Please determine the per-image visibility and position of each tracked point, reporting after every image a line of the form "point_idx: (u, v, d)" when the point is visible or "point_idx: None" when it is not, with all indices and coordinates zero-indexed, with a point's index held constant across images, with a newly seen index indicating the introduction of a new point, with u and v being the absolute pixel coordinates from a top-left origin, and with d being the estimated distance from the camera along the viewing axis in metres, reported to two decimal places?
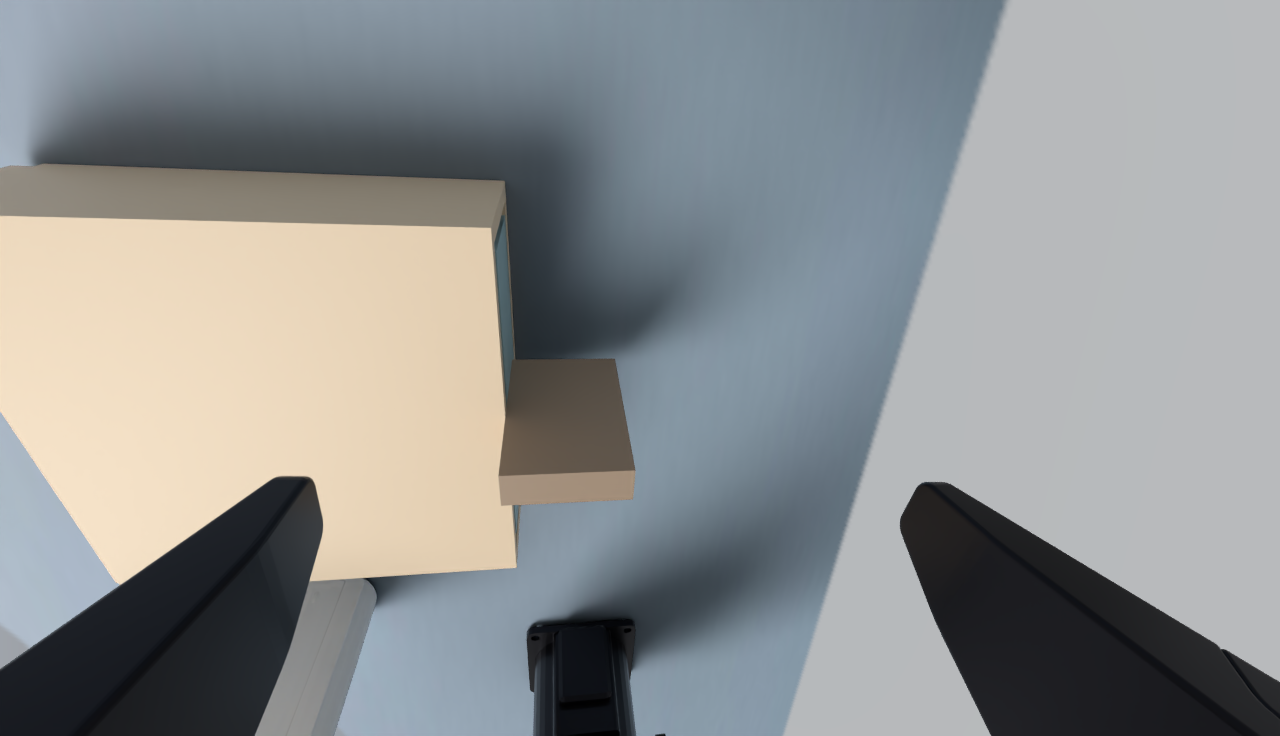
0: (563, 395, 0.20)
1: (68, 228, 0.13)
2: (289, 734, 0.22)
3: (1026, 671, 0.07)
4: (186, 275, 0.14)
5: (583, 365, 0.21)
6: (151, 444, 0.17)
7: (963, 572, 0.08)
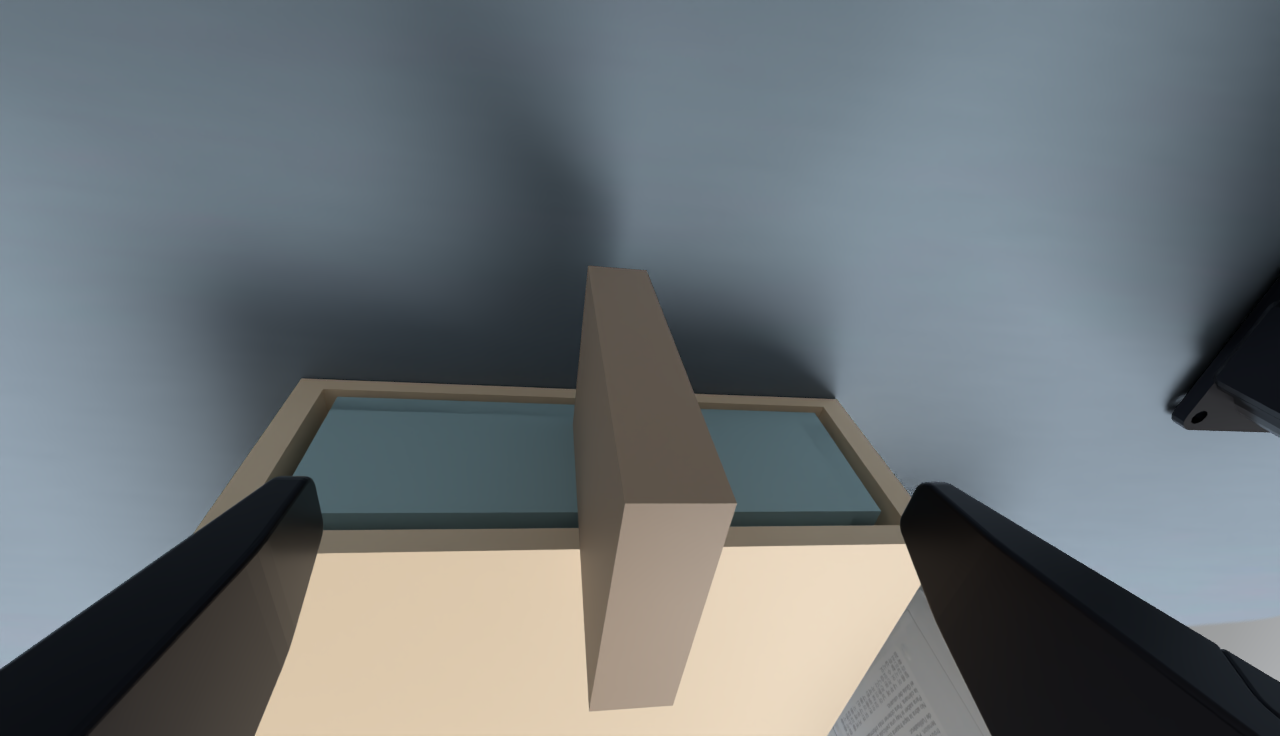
0: (585, 424, 0.10)
1: None
2: None
3: (1026, 671, 0.07)
4: None
5: (583, 332, 0.11)
6: None
7: (963, 572, 0.08)
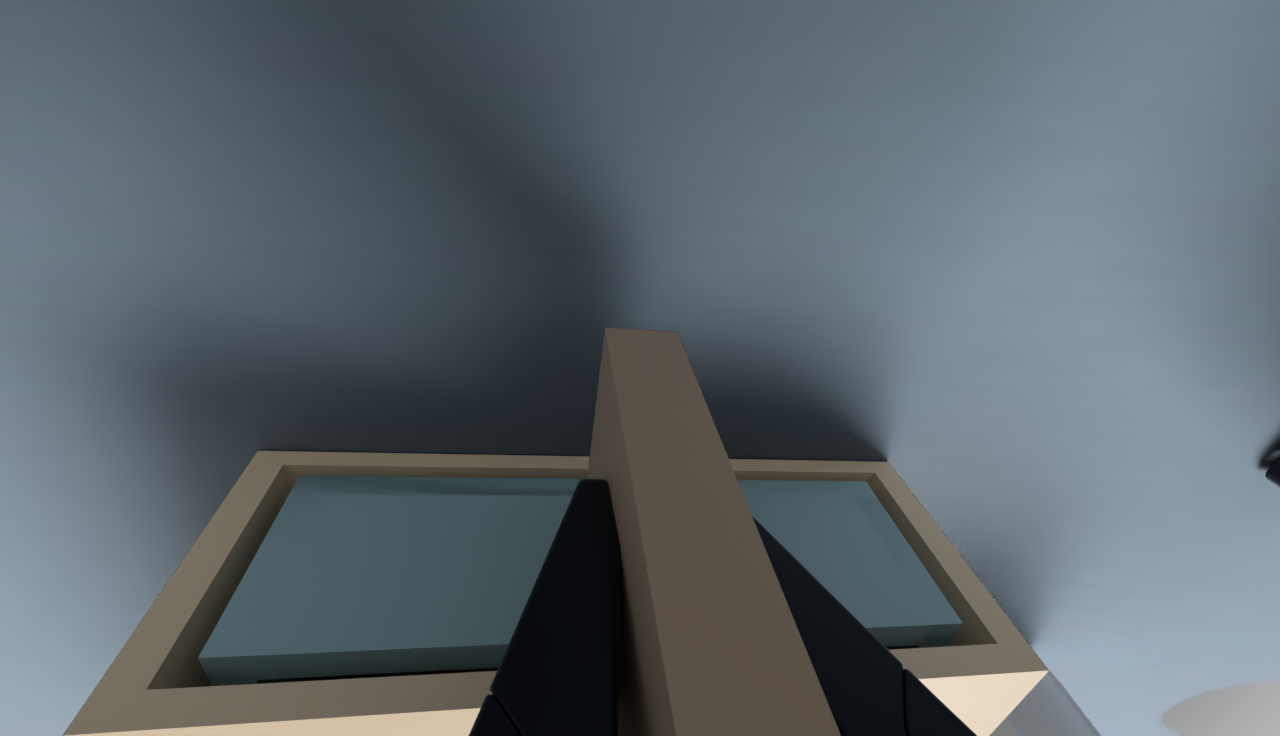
0: None
1: None
2: None
3: None
4: None
5: (598, 409, 0.09)
6: None
7: None
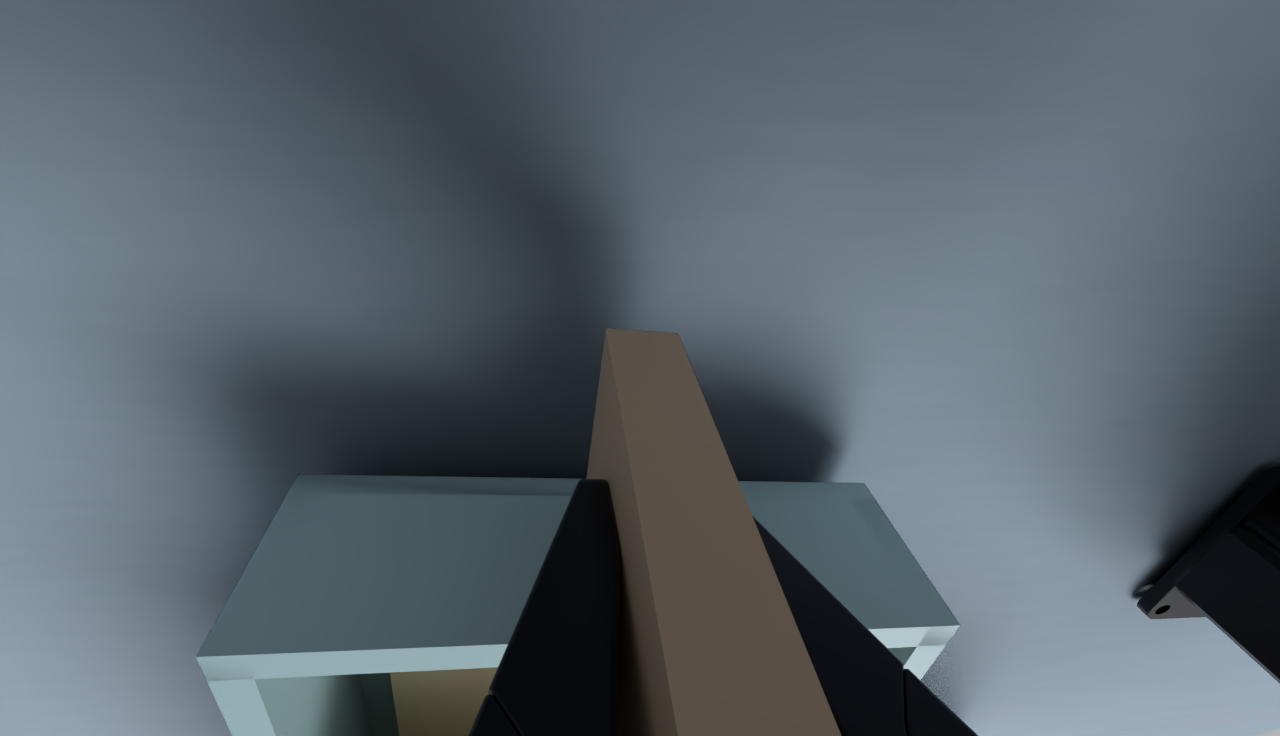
0: None
1: None
2: None
3: None
4: None
5: (598, 409, 0.09)
6: None
7: None
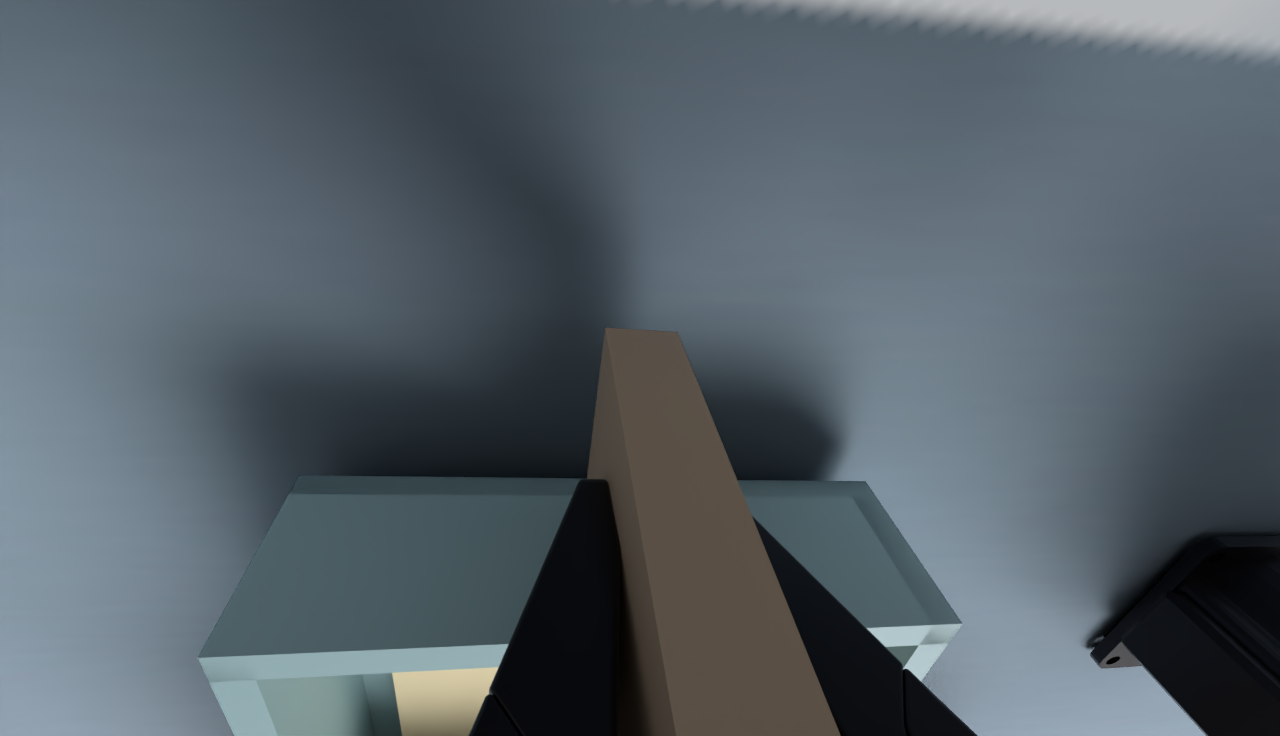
0: None
1: None
2: None
3: None
4: None
5: (598, 409, 0.09)
6: None
7: None
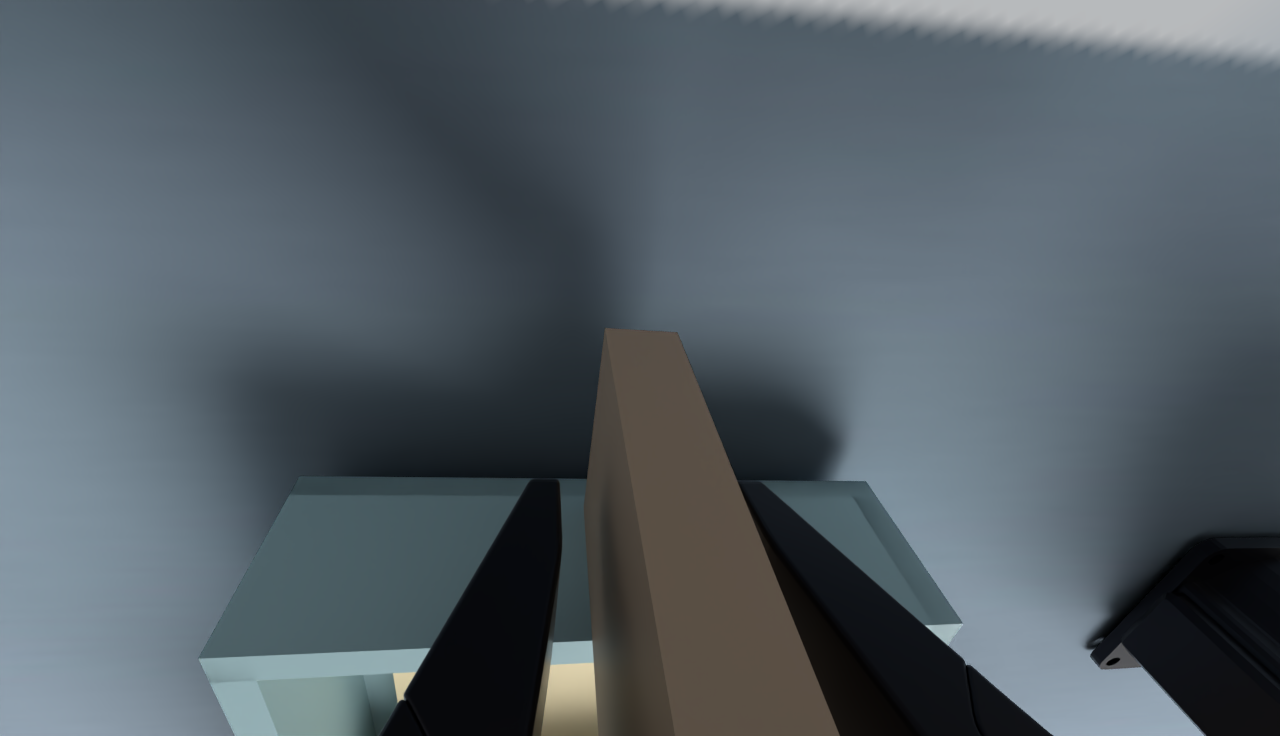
0: (604, 540, 0.08)
1: None
2: None
3: None
4: None
5: (599, 409, 0.09)
6: None
7: None
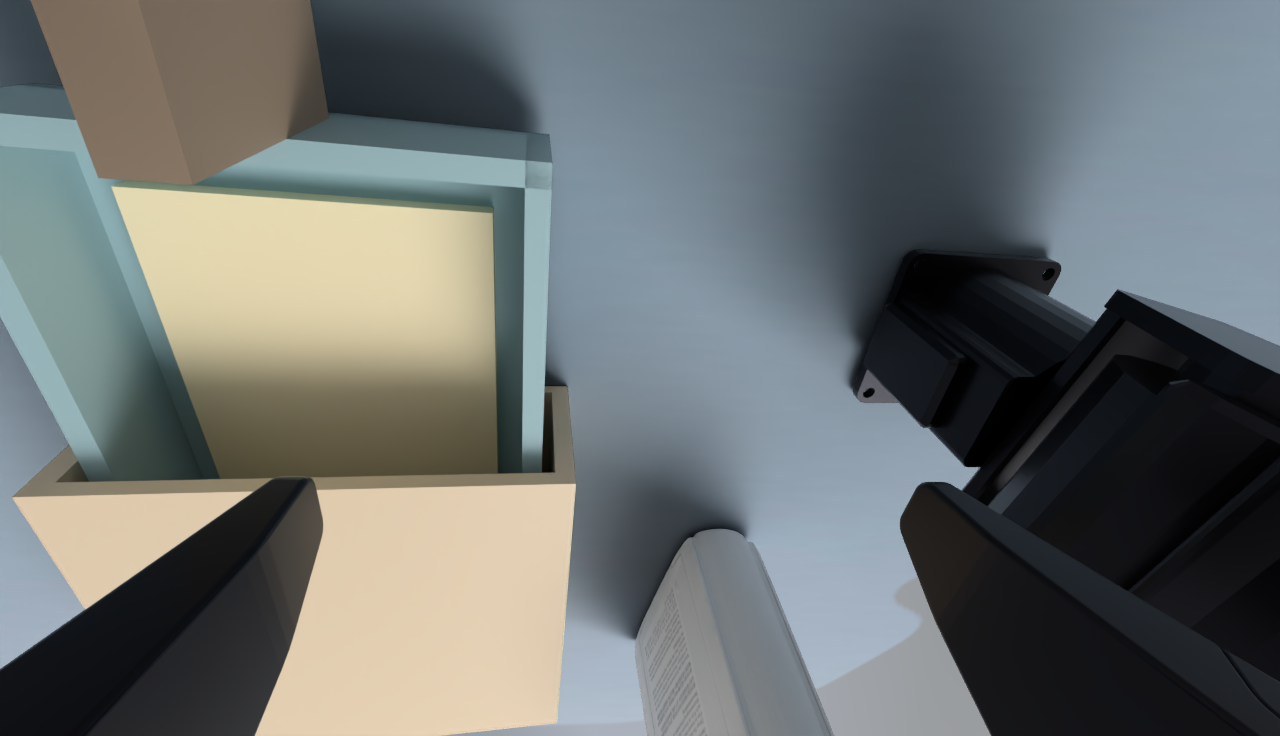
0: None
1: None
2: (724, 712, 0.20)
3: (1026, 671, 0.07)
4: None
5: None
6: (374, 698, 0.21)
7: (963, 572, 0.08)
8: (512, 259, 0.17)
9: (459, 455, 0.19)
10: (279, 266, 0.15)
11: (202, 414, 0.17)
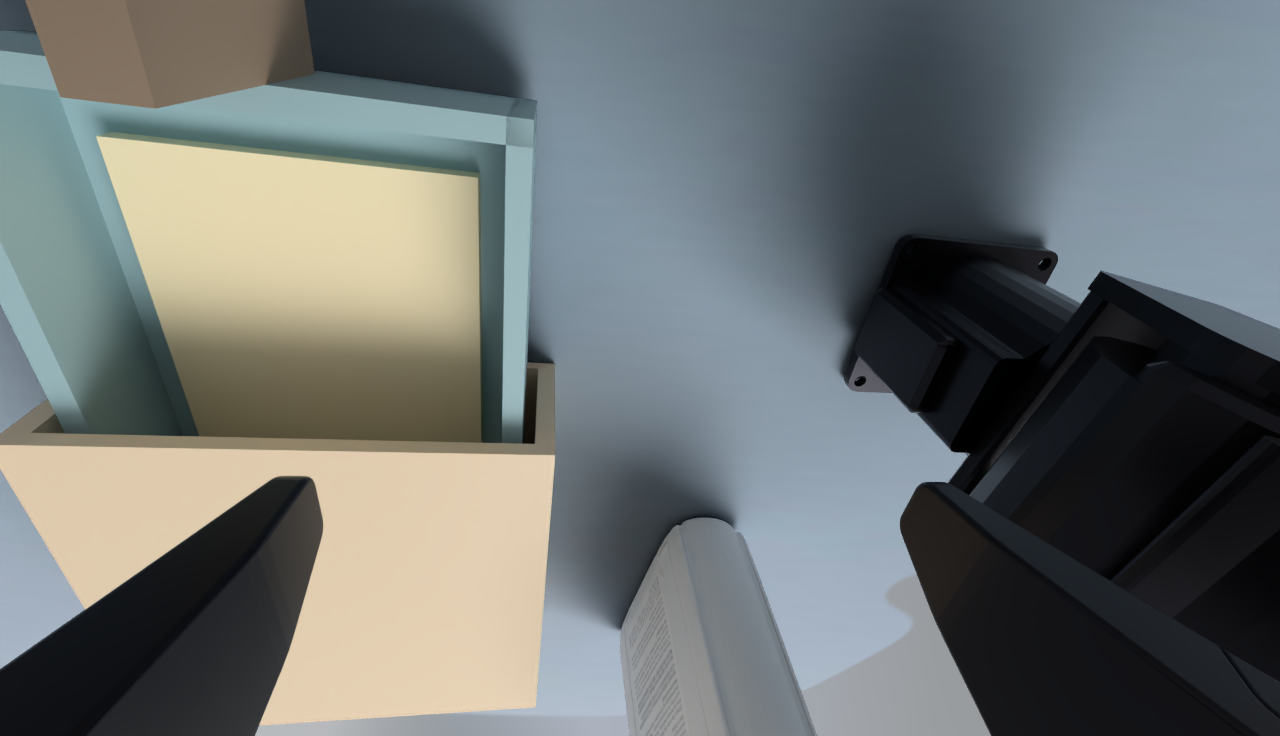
0: None
1: None
2: (702, 698, 0.20)
3: (1026, 671, 0.07)
4: None
5: None
6: (350, 672, 0.20)
7: (963, 572, 0.08)
8: (498, 227, 0.16)
9: (442, 428, 0.19)
10: (263, 224, 0.15)
11: (184, 375, 0.17)
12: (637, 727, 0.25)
